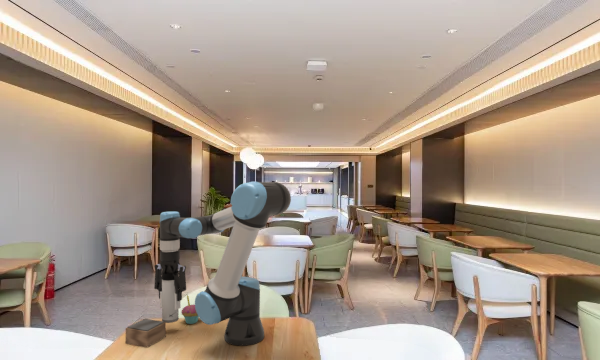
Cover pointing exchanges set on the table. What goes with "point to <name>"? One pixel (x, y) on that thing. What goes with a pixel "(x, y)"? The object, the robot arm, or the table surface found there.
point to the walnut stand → (145, 332)
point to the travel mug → (169, 298)
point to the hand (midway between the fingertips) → (170, 307)
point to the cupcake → (190, 313)
